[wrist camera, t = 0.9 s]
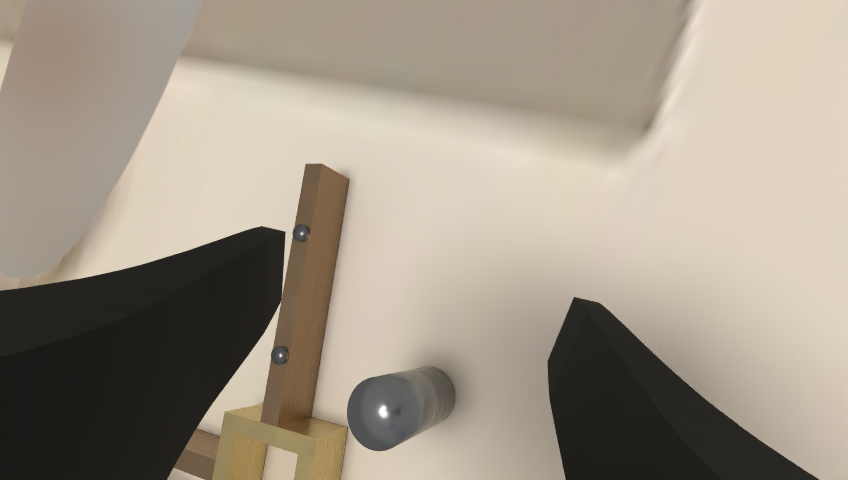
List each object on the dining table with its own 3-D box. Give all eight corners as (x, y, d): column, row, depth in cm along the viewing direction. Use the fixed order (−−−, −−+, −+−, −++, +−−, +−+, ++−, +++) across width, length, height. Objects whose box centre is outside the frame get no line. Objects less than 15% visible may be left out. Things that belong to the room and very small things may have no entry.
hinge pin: (451, 430, 24) (404, 459, 18) (400, 417, 25) (342, 441, 20) (458, 372, 24) (413, 384, 19) (408, 362, 26) (352, 371, 20)
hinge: (329, 548, 25) (292, 576, 22) (91, 451, 34) (42, 462, 31) (384, 179, 28) (358, 162, 25) (153, 176, 37) (114, 163, 34)
